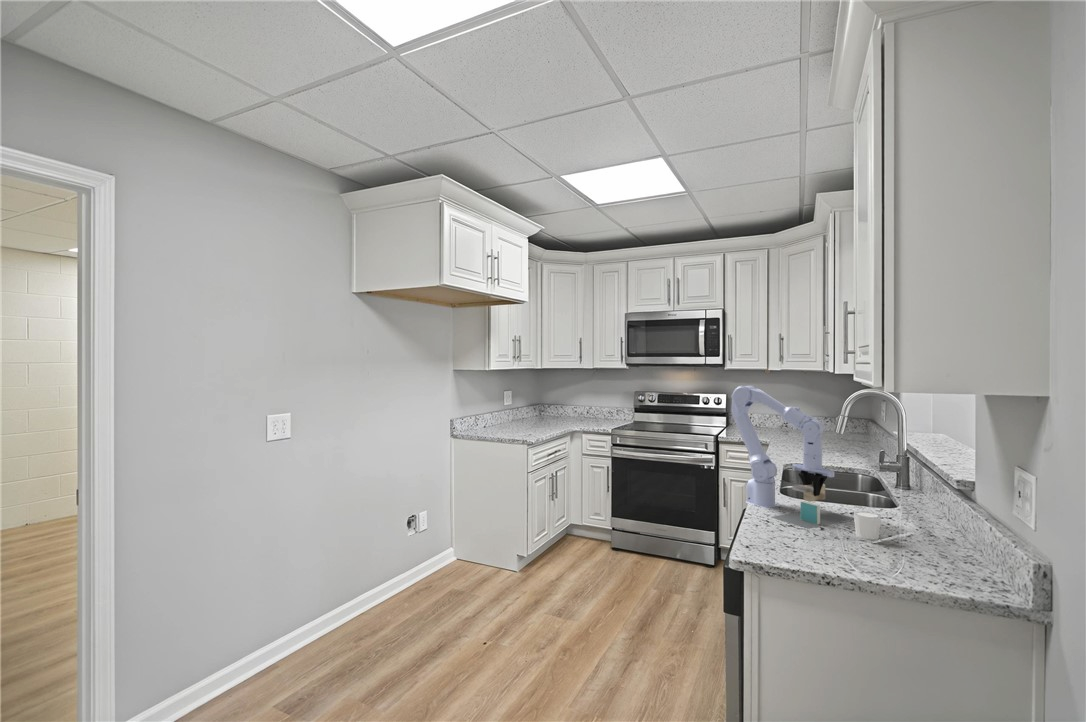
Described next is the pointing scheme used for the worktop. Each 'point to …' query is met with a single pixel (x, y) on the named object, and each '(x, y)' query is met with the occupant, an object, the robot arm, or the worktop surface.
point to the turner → (810, 492)
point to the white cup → (867, 525)
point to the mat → (825, 519)
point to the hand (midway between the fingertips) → (812, 494)
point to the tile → (810, 512)
